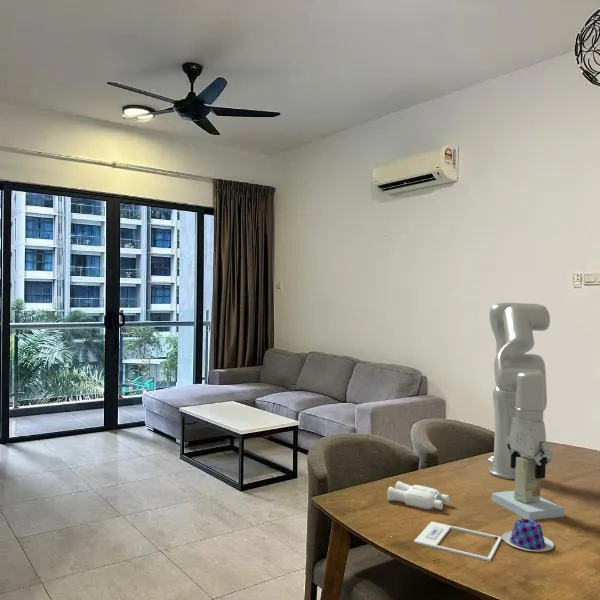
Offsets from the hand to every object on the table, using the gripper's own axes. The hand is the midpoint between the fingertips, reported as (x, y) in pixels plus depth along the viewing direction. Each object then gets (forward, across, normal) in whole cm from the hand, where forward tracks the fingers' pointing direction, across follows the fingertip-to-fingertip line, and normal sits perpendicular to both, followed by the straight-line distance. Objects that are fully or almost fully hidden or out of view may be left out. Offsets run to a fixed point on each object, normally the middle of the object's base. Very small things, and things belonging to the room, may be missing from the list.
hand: (527, 472), depth 165 cm
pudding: (+10, +20, -18) cm, 29 cm away
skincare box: (+8, +1, 0) cm, 8 cm away
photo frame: (+10, +14, -34) cm, 38 cm away
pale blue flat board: (+11, +1, 0) cm, 11 cm away
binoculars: (+10, -12, -29) cm, 33 cm away
